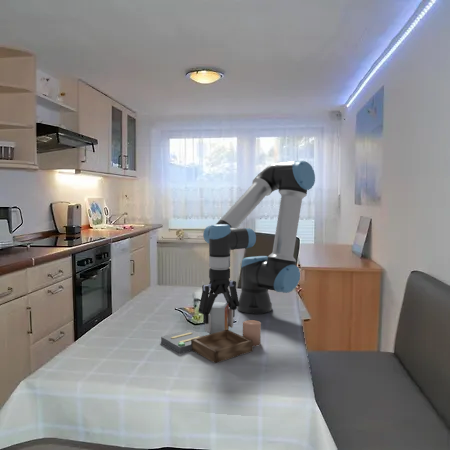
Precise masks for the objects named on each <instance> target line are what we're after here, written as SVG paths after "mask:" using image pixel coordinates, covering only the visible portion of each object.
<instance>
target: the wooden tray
mask: <svg viewBox="0 0 450 450" xmlns="http://www.w3.org/2000/svg"><path fill="white" fill-rule="evenodd" d="M191 344H192V350H191V351H193V352H195V353H196V354H199V355H200V356H202V357H204V358H205V359H207V360H209V361H210V362H213V363H214V364H217V363H220V362H223V361H227V360H230V359H233V358H236V357H238V356H239V357H240V356H241V355H245V354H248V353H252V352H253V351H254V346H253V340H250V339H248V338H246V337H243V335H241V334H239V333H235V332H234V331H231V330H224V331H221V332H217V333H213V334H210V333H208V334H205V335H203V336H202V337H198V338H194V339H191Z"/></svg>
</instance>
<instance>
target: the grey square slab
mask: <svg viewBox="0 0 450 450" xmlns="http://www.w3.org/2000/svg"><path fill="white" fill-rule="evenodd" d="M202 336H204V335H203V334H201V333H199V332H197V331H195V330H193V329H188V330H186V329H185V330H183V331H179V332H175V333H171V334H167V335H162V336H161V337H160V340H161V341H160V342H161V344H163V345H165V346H166V347H168V348H170V349H172V350H173V351H175V352H177V353H178V354H183V353H186V352H191V351H192V344H191V339H194V338H198V337H202Z"/></svg>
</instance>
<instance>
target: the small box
mask: <svg viewBox="0 0 450 450" xmlns="http://www.w3.org/2000/svg"><path fill="white" fill-rule="evenodd" d="M209 314H210V315H211V333H209V334H213V333H217V332H221V331H224V330H229V329H230V327H229V303H227V302H221V301H220V302H219V301H214V303H213V306H212V308H211V311H210V313H209ZM229 331H230V330H229Z"/></svg>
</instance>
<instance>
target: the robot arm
mask: <svg viewBox="0 0 450 450" xmlns="http://www.w3.org/2000/svg"><path fill="white" fill-rule="evenodd" d="M315 183H316V174H315V170H314V168H313V166H312V165H311V164H310V163H309V162H307V161H304V160H292V161H277V162H275V163H272V164H270V165H268V166H266V167H265V168H264V169H263V170H261V171H260V173H258V174H257V175H256V177H254V179H252V183H251V185H250V186H249V187H248V189H246V191H245V192H244V193H243V194H242V195H241V196H240V197H239V198H238V199H237V200H236V202H234V204H232V206H231V207H230V208H229V209H228V210H227V212H225V214H224V215H223V216H222V217H221V218H220V219H219V220H218V221H217V222H216V223H215V224H211V225H208V226H206V227H205V228H204V230H203V239H204V241H205V242H206V243H207V244H208V248H209V249H208V250H209V251H208V252H209V254H208V266H209V269H208V277H209V283H208V284H206V285H205V284H202V286H201V289H202V292H201V295H200V296H201V297H200V301H199V307H198V311H197V312H198V313H200V314H202V315H203V317H202V320H203V321H202V322H203V324H204V332H206V333H208V334H210V333H211V315H210V311H211V308H212V306H213V304H214V302H216V298H218V295H221V294H222V295H223V296H224V299H225V301H226V303H229V328H234V318H235V315H236V314H235V313H236V312H235V310H238V312H242V313H245V314H253V315H255V314H257V315H258V314H261V315H262V314H266V313H267V314H268V313H270V312H272V310H273V303H272V302H271V298H270V293H269V290H270V291H273V292H276V293H283V294H284V293H285V294H288V293H290V292H293V291H294V289H296V287H297V286H298V284H299V282H300V279H301V272H300V269H299V267H298V266H297V265H296V264H297V260H296V258H295V257H294V253H295V247H296V241H297V235H298V230H299V229H298V227H299V223H300V222H299V221H300V216H301V215H300V214H301V209H302V203H303V199H304V198H305V197H306V196H307V194H308V191H309V190H311V189H312V188H313V187H314V185H315ZM274 191H278V194H279V195H280V197H281V198H280V202H279V209H278V210H279V211H278V215H277V220H276V221H277V222H276V227H275V234H274V241H273V246H272V252H271V253H270V254H269V255H268V256H267V255H258V256H257V255H256V256H255V255H254V256H248V257H243V259H242V260H241V267H240V268H241V270H240V271H241V275H240V276H241V277H240V279H241V285H240V286H241V291H240V294H239V296H238V290H237V281H236V280H232V279H231V269H230V267H231V251H233V250H241V249H244V250H245V249H248V248H250V249H251V248H252V247H254V245H255V244H256V241H257V235H256V232H255V231H254V230H253V229H252V228H250V227H249V228H247V227H243V228H242V227H241V228H240V226H241V225H242V224H243V222H244V221H245V220H246V219H247V218H248V217H249V215H250V214H251V213H252V212H253V211H254V210H255V209H256V208H257V206H258V205H259V204H260V203H261V202H262V201H263V199H265V197H268V196H270V195H271V194H272V193H273V192H274Z"/></svg>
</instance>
